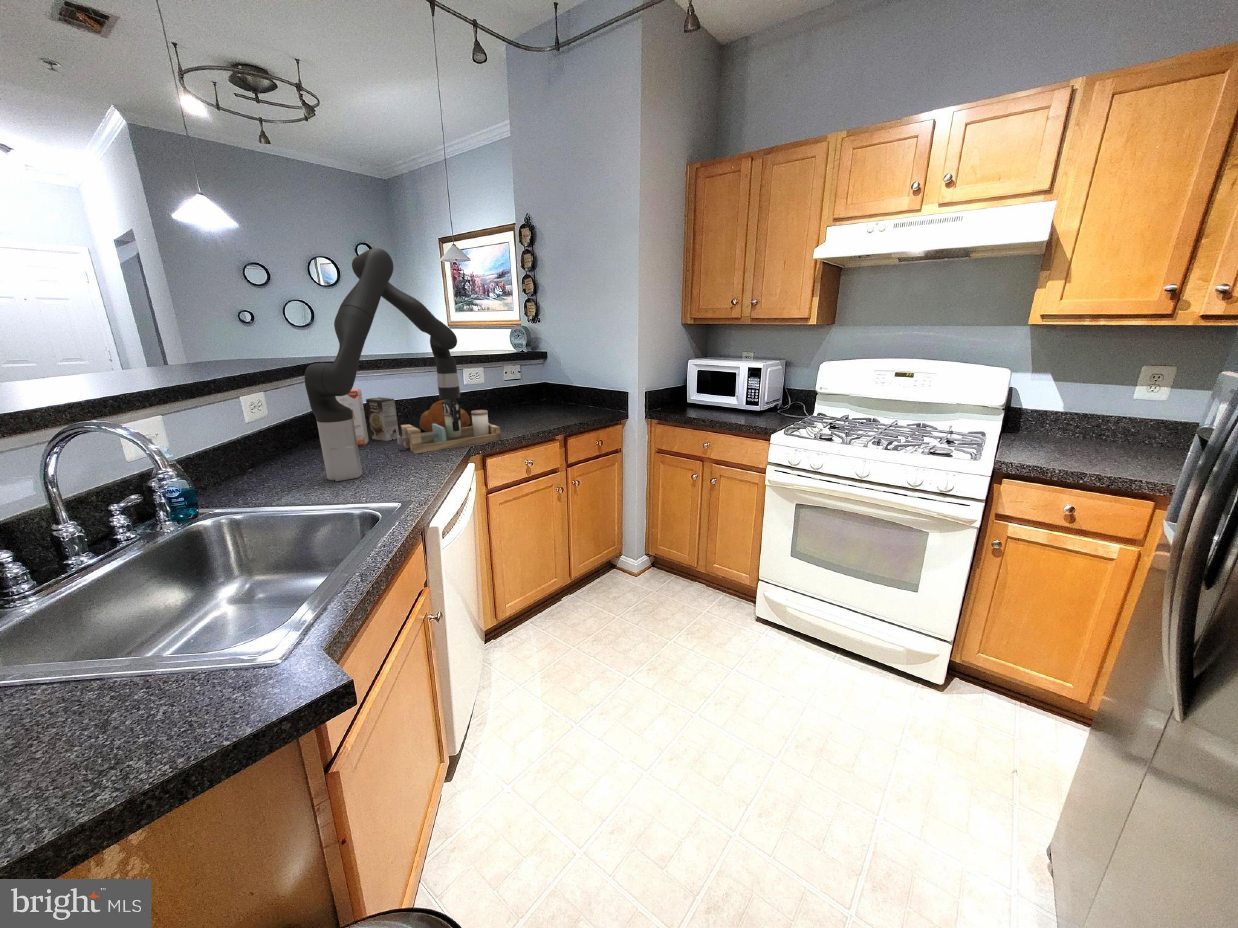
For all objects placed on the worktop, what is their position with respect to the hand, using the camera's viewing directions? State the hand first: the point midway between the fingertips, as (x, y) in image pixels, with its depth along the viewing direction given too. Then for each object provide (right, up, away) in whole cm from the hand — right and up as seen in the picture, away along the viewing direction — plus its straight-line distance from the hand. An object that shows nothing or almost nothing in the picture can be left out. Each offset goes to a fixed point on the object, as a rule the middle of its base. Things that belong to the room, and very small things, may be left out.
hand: (453, 429), depth 183 cm
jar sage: (0, -2, +1) cm, 2 cm away
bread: (-13, +2, +29) cm, 32 cm away
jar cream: (+9, -3, +7) cm, 12 cm away
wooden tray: (0, -5, +1) cm, 5 cm away
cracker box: (-41, -6, 0) cm, 41 cm away
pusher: (-10, -7, -6) cm, 13 cm away
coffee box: (-31, -3, +10) cm, 32 cm away
